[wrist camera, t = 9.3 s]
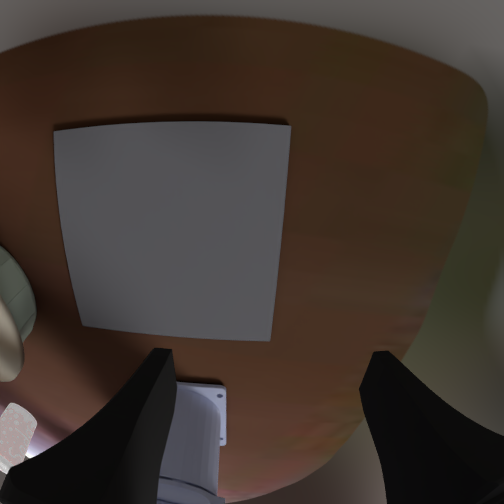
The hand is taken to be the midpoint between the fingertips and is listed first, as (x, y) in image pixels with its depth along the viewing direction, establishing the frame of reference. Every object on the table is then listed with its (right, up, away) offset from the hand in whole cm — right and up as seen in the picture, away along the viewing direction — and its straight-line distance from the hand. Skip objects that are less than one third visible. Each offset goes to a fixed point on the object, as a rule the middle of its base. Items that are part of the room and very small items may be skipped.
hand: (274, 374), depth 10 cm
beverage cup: (-31, -17, +17) cm, 39 cm away
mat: (-6, +5, +8) cm, 11 cm away
